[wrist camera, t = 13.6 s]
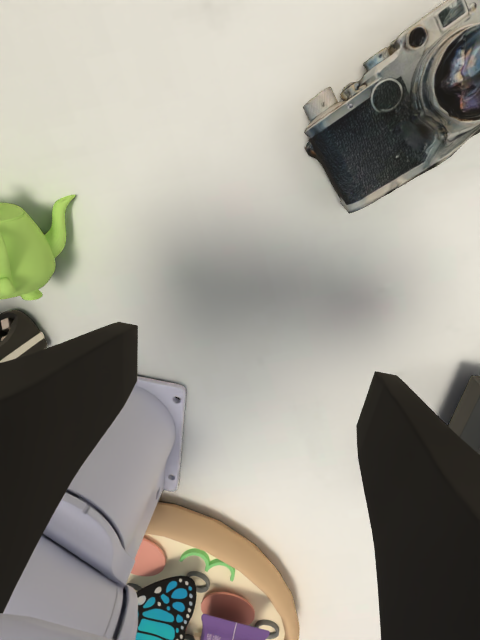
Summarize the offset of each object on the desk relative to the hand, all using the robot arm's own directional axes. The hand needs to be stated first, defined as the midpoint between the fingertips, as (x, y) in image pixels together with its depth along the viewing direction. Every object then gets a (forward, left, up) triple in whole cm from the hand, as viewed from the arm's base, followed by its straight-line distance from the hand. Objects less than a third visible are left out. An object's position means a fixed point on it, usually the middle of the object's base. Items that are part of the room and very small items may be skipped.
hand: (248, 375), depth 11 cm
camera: (+9, -5, -11) cm, 15 cm away
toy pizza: (-32, -7, -9) cm, 34 cm away
